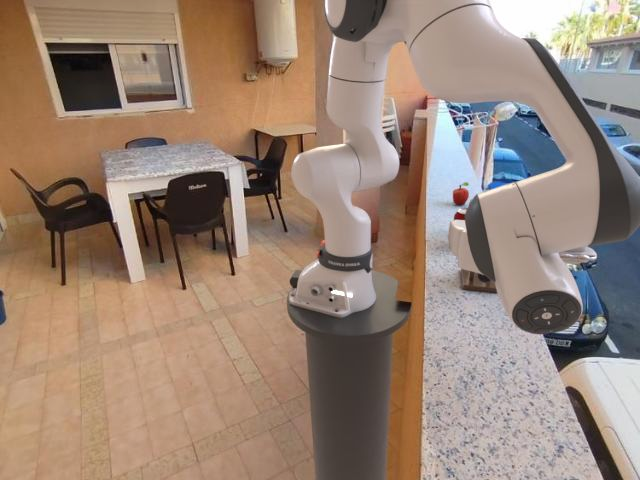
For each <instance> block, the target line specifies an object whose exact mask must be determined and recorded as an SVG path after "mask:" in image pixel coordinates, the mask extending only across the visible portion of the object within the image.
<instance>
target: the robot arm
mask: <svg viewBox="0 0 640 480" xmlns="http://www.w3.org/2000/svg"><path fill="white" fill-rule="evenodd" d="M323 11H324V19H325V22H326V24H327V26H328V29H329V30H330V32H331V33H332V35H334V36H333V40H332V45H331V50H330V56H329V64H328V65H329V66H328V79H327V93H326V105H325V106H326V107H325V109H326V114H327V117H328V118H329V120H330V122H331V123H332V124H334V125H335V126H337V127H338V128H340V129H341V130H344V131H345V141H344V142H343V143H340V144H332V145H331V144H330V145H324V146H317V147H313V148H311V149H308V150H306V151H303V152H300V153H298V154H297V156H296V157H295V158H294V160H293V162H292V165H291V168H290V175H291V176H290V177H291V181H292V184H293V186H294V188H295V190H296V191H297V192H298V193H299V194H300V195H301V196H302V197H303V198H305V199H307V200H308V201H310V202H311V203H312V204H313V206H315V207H316V208H317V210H318V212H319V214H320V216H321V220H322V226H323V234H324V239H323V240H321V243H320V244H319V247H318V249H317V252H316V256H315V257H316V259H315V260H313V261H312V262H310V263H309V264H306V266H305V267H304V268H303V269H295V270H294V272H293V273H292V274H291V277H290V279H289V284H290V286H291V288H292V289H291V288H290V290H291V291H290V290H289V292H290V293H289V292H288V293H289V303H290V304H291V305H295V306H298V307H302V308H305V309H309V310H313V311H317V312H320V313H324V314H328V315H331V316H335V317H339V318H343V317H346V316H348V315H349V314H351V313H354V312H358V311H362V310H365V309H367V308H369V307H370V306H372V305H373V304H374V303H375V301H376V294H375V290H374V287H373V282H372V274H371V270H373V265H374V263H373V260H374V257H373V256H374V253H373V246H372V245H371V243H372V241H371V239H372V234H371V233H372V220H371V217H370V216H369V214H368V213H367V211H365V210H364V209H363V208H361V207H358V206H357V205H354V204H353V203H352V194H353V193H358V192H363V191H369V190H375V189H377V188H379V187H380V188H381V187H382V186H384V185H386V184H388V183H390V182H393V180H395V179H396V178H397V176H398V173H399V170H400V156H399V154H398V151H397V150H396V148H395V146H394V144H392V143H390V141H388V139H387V138H386V135H385V133H384V128H383V124H382V112H383V111H382V110H383V103H384V102H383V100H384V95H385V94H384V92H385V85H386V80H387V79H386V78H387V71H388V63H389V62H388V61H389V57H390V56H389V55H390V52H391V50H392V48H393V47H394V46H395V45H396V44H398V43H404V44H405V46H406V47H407V51H408V54H409V58H410V60H411V63H412V66H413V69H414V71H415V73H416V76H417V78H418V80H419V82H420V84H421V86H422V88H423V89H424V90H425V92H427V93H428V94H429V95H431V96H432V97H434V98H436V99H438V100H441V101H444V102H447V103H451V104H452V103H453V104H463V105H466V104H469V105H470V104H478V103H479V104H480V103H489V102H492V103H493V102H507V103H508V102H509V103H517V104H521V105H524V106H526V107H528V108H530V109H531V110H532V111H533V112H535V114H536V115H537V116H538V118H539V120H540V121H541V123H542V124H543V126H544V127H545V129H546V130H547V132H548V134H549V135H550V137H551V138H552V140H553V142H554V143H555V145H556V146H557V148H558V150H559V151H560V153H561V154H562V156H563V158H564V160H565V162H564V164H562V165H561V166H559V167H558V168H554V169H551V170H549V171H545V172H542V173H539V174H536V175H533V176H529V177H527V178H524V179H521V180H518V181H512V182H510V183H506V184H503V185H500V186H496V187H494V188H491V189H488V190H485V191H483V192H480V193H477V194H475V195H474V196H473V198H471V199H472V201H471V202H470V201H469V202H470V204H469V203H468V206H467V208H468V209H467V211H466V214H465V220H454V219H453V220H451V221H449V227H448V237H447V239H448V245H449V248H450V251H451V253H452V254H453V256H455V257H456V258H457V267H458V268H459V269H460V270H461V269H464V270H468V271H472V272H476V273H479V274H482V275H485V276H486V277H487V278H489V279H490V280H492V281H494V282H495V286H496V290H497V293H496V294H497V296H498V299H499V301H500V303H501V306H502V308H503V309H504V311H505V313H506V316H507V317H508V318H509V320H510V321H511V323H513V325H514V326H515V327H516V328H517V329H519V330H521V331H523V332H526V333H529V334H532V335H533V334H534V335H547V334H554V333H558V332H563V331H566V330H567V329H569V328H571V327H573V326H574V325H575V324H576V323H577V322H578V321H579V320H580V319H581V317H582V314H583V310H584V305H583V300H582V296H581V293H580V291H579V287H578V284H577V282H576V279H575V277H574V275H573V274H572V272H571V270H570V268H569V266H568V265H580V264H581V263H588V262H589V261H596V259H597V258H598V254H597V252H596V251H595V250H594V249H593V248H591V247H593V246H594V247H595V246H601V245H606V244H612V243H613V244H614V243H618V242H625V241H627V240H628V239H629V238H630V237H631V236H632V235H633V234H634V233H635V232H636V231H637V230H638V228H640V176H639V174H638V173H637V171H636V170H635V169H634V167H633V166H632V165H631V164H630V162H629V161H628V160H627V159H626V158H625V157H624V155H623V154H622V153H621V152H620V150H619V149H618V148H617V147H616V146H615V145H614V143H612V141H611V140H610V138H609V136H608V135H607V134H606V133H605V131H604V130H603V128H602V126H601V125H600V123H599V122H598V121H597V118H596V117H595V116H594V114H593V113H592V112H591V110H590V108H589V107H588V105H587V104H586V102H585V101H584V100H583V98H582V97H581V95H580V93H579V92H578V90H577V88H576V87H575V85H574V84H573V83H572V81H571V80H570V78H569V77H568V75H567V74H566V73H565V71H564V70H563V68H562V67H561V65H560V64H559V63H558V61H557V60H556V59H555V58H554V56H553V55H552V54H551V52H550V51H549V50H548V49H547V48H546V47H545V45H544V44H543V43H541V42H540V41H539V40H537V39H536V38H534V37H533V38H530V37H520V36H517V35H515V34H514V33H512V32H510V31H509V30H508V29H506V28H505V27H504V26H503V25H502V24H501V23H500V22H499V20H498V19H497V17H496V15H495V13H494V9H493V8H492V5H491V2H490V0H323ZM567 264H568V265H567Z"/></svg>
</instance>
